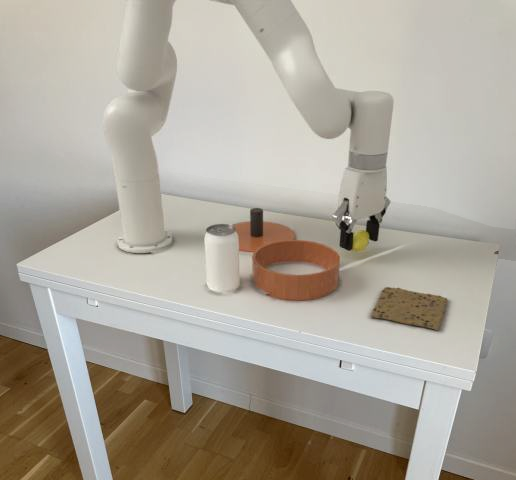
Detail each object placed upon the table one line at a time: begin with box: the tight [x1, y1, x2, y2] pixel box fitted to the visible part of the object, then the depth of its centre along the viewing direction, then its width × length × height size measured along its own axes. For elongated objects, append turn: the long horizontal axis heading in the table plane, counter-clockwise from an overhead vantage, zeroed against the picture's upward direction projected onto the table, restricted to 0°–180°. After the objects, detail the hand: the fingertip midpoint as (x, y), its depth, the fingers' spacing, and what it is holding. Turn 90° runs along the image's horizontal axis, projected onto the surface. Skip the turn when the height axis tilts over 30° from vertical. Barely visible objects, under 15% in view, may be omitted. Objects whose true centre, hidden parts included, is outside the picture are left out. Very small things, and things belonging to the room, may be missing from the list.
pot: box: [251, 239, 341, 302], centre depth 108 cm, size 17×17×5 cm
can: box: [203, 223, 241, 293], centre depth 104 cm, size 6×6×12 cm
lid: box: [231, 207, 296, 253], centre depth 126 cm, size 18×18×7 cm
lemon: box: [351, 229, 370, 252], centre depth 116 cm, size 4×8×4 cm, turn 153°
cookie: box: [371, 286, 448, 331], centre depth 99 cm, size 12×12×1 cm
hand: (358, 243), depth 117 cm, fingers closed on lemon, 7 cm apart
